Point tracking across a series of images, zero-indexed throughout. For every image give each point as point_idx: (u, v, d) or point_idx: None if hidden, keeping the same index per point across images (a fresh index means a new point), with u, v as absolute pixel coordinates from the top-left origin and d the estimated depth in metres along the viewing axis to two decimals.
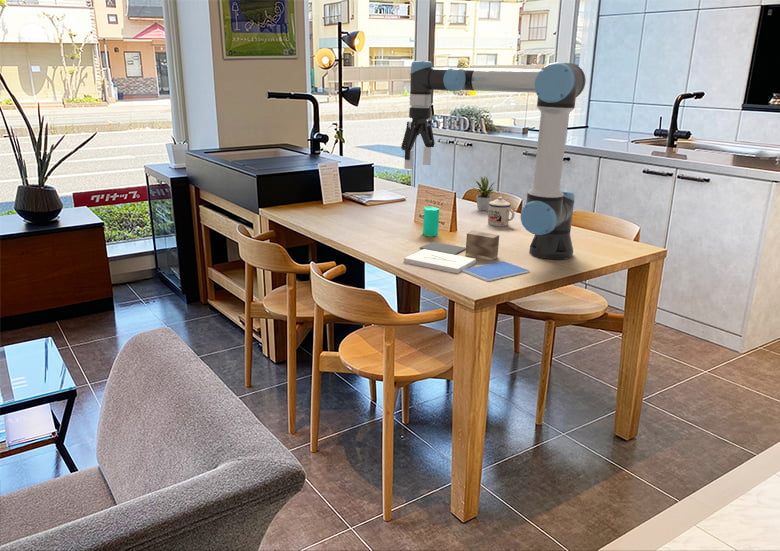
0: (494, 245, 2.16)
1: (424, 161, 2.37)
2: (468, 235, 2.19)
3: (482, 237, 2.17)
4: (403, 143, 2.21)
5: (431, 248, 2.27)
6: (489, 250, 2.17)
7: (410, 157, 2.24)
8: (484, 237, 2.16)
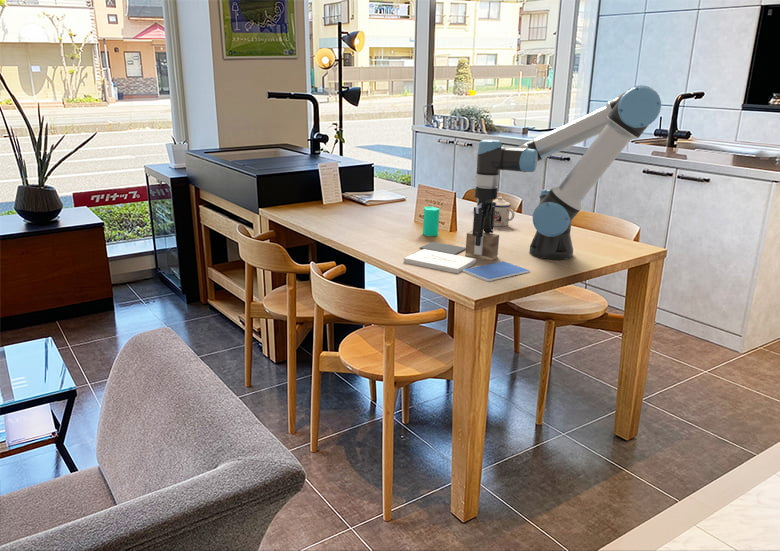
0: (494, 245, 2.16)
1: None
2: (468, 235, 2.19)
3: None
4: (474, 230, 2.14)
5: (431, 248, 2.27)
6: (489, 250, 2.17)
7: (481, 243, 2.17)
8: (484, 237, 2.16)
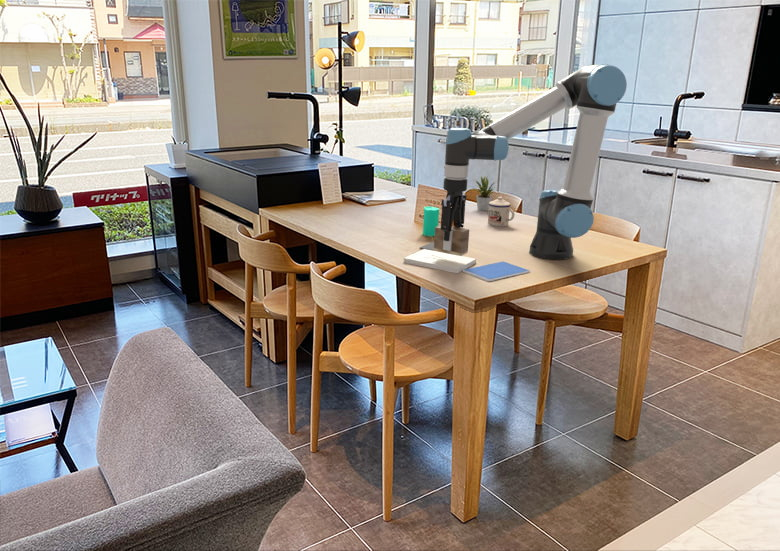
0: (463, 240, 2.04)
1: None
2: (436, 229, 2.07)
3: None
4: (442, 224, 2.01)
5: (431, 248, 2.27)
6: (458, 245, 2.04)
7: (450, 238, 2.04)
8: (453, 231, 2.04)
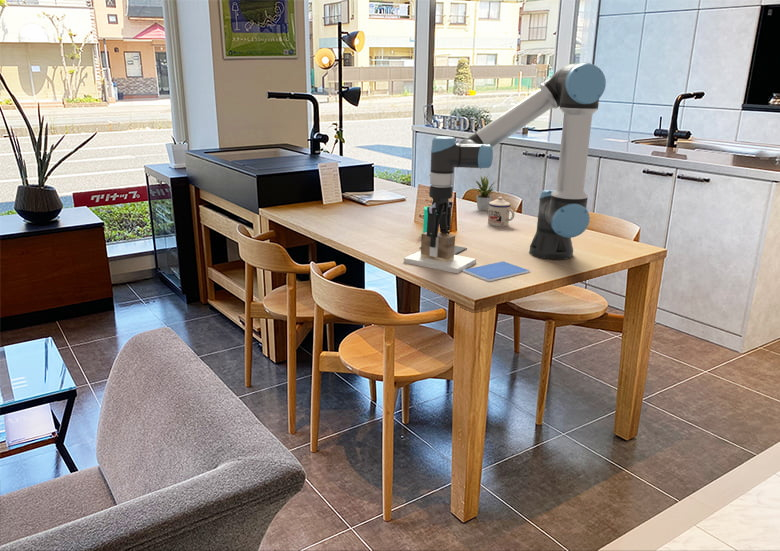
0: (449, 246, 2.08)
1: None
2: (423, 235, 2.11)
3: None
4: (428, 231, 2.05)
5: None
6: (444, 251, 2.08)
7: (436, 244, 2.08)
8: (439, 237, 2.08)
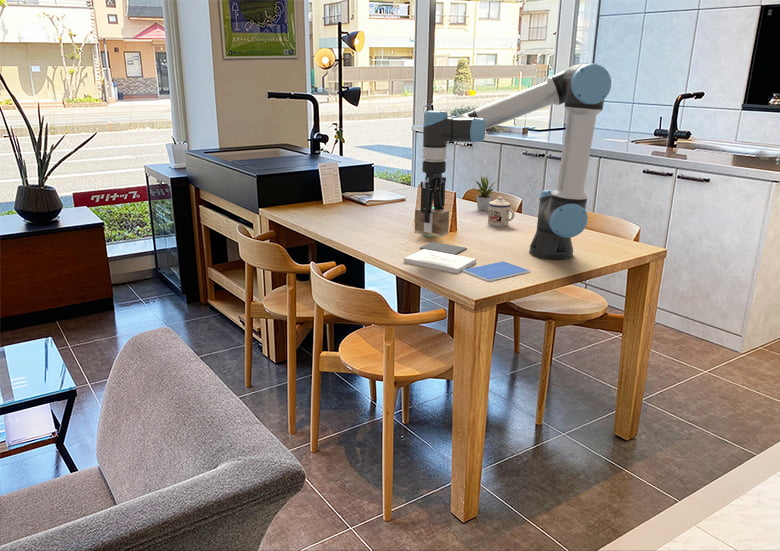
0: (443, 221, 2.07)
1: None
2: (417, 211, 2.10)
3: None
4: (421, 206, 2.04)
5: (431, 248, 2.27)
6: (438, 227, 2.07)
7: (430, 220, 2.07)
8: (433, 213, 2.07)
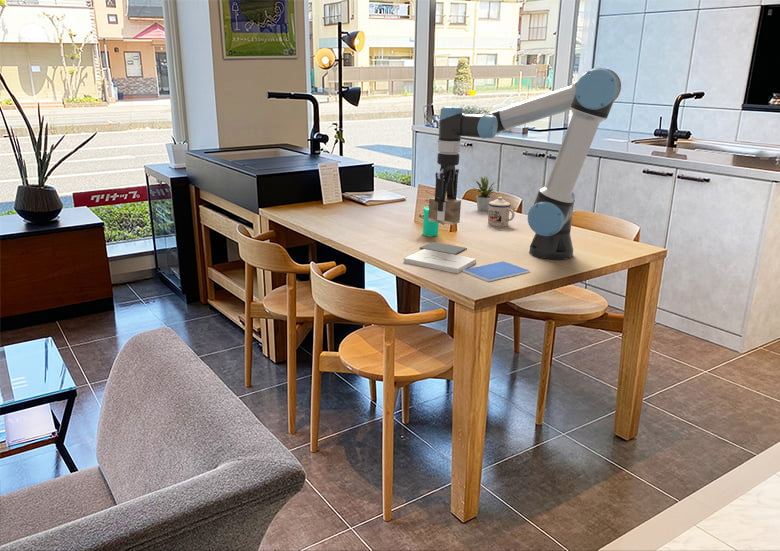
0: (455, 210, 2.21)
1: None
2: (430, 200, 2.24)
3: None
4: (436, 196, 2.18)
5: (431, 248, 2.27)
6: (451, 215, 2.21)
7: (443, 209, 2.21)
8: (446, 202, 2.21)
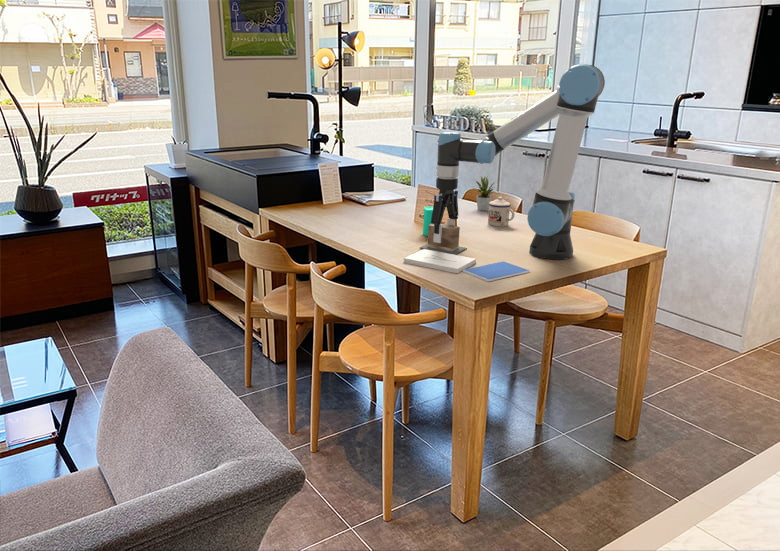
0: (454, 236, 2.24)
1: None
2: (430, 227, 2.27)
3: (443, 229, 2.24)
4: (432, 218, 2.19)
5: (431, 248, 2.27)
6: (450, 241, 2.24)
7: (439, 231, 2.22)
8: (445, 229, 2.24)
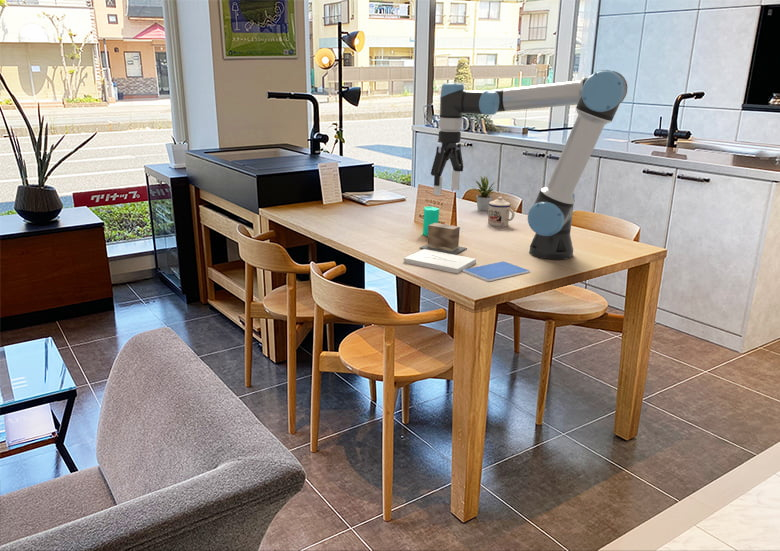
0: (454, 236, 2.24)
1: (452, 186, 2.28)
2: (430, 227, 2.27)
3: (443, 229, 2.24)
4: (433, 169, 2.12)
5: (431, 248, 2.27)
6: (450, 241, 2.24)
7: (440, 183, 2.15)
8: (445, 229, 2.24)
